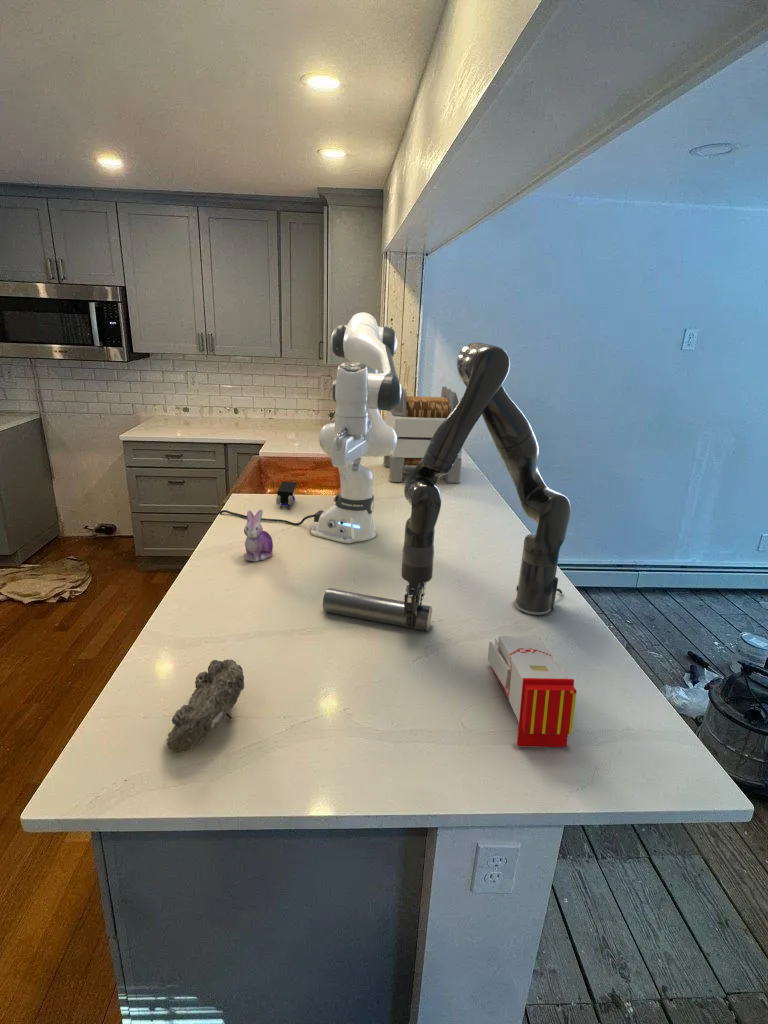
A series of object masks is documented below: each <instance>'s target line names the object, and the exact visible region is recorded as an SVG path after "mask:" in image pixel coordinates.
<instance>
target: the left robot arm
mask: <svg viewBox="0 0 768 1024" xmlns="http://www.w3.org/2000/svg"><path fill="white" fill-rule="evenodd" d="M330 347H331V349H332V353H333V354H334V355H335V356H336V357H338V358H342V359H345V358H347V360H348V361H346V362H342V363H340V364H339V365H338V366H337V371H336V377H335V379H334V380H333V381H332V400H333V401H334V402H335V405H336V406H335V411H334V422H330V423H325V424H324V425H323V426H322V427H321V429H320V431H319V434H318V442H319V446H320V448H321V450H322V451H323V452H324V453H325V454H327V455H328V456H329V457H330V459H331V465H332V467H333V468H337V470H338V473H339V483H340V484H339V485H340V488H339V489H340V490H339V491H338V492H337V494H336V495H335V496H334V497H333V502H334V504H333V505H331V506H329V507H328V508H326V509H325V510H322V509H321V510H318V511H317V512H315V513H314V514H310V515H306V516H305V517H303V518H302V519H301V520H300V521H299V522H292V521H289V520H285V519H278V518H277V519H276V518H264V517H262V518H261V521H264V522H279V523H286V524H289V525H293V526H300V525H302V524H303V523H304V522H305V520H307V519H311V518H313V522H314V523H315V524H314V525H313V526H312V528H311V530H310V533H311V536H315V537H319V538H323V539H326V540H330V541H336V542H339V543H343V544H352V543H357V542H365V541H368V540H372V539H373V538H375V537H376V535H377V532H376V528H375V523H374V513H373V512H374V509H375V496H374V474H373V472H372V471H371V469H369V468H368V467H366V466H365V465H363V464H362V463H361V461H362V459H363V457H364V458H384V456H389V455H391V454H392V453H393V452H394V450H395V449H396V446H397V435H396V433H395V431H394V429H393V428H392V427H391V426H389V425H388V424H387V423H386V420H384V419H383V417H382V415H381V414H380V411H386V412H387V411H391V410H392V409H394V408H395V407H396V406H398V405H399V403H400V400H401V394H402V390H401V387H402V385H401V382H400V378H399V377H398V374H397V369H396V366H395V363H394V359H393V357H394V356H395V353H396V351H397V349H398V337H397V335H396V331H395V330H394V328H391V327H388V326H379V324H378V321H377V320H376V317H375V316H374V315H372V314H370V313H368V312H357V313H355V314H353V316H351V317H350V319H349V321H348V323H347V324H340V325H337V326H335V328H333V329H332V333H331V336H330ZM223 513H227V514H230V515H234V516H237V517H241V518H245V519H247V515H245V514H241V513H238V512H233V511H231V510H226V509H222V510H220V511H219V512H218V515H221V514H223Z"/></svg>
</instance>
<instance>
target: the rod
mask: <svg viewBox="0 0 768 1024" xmlns="http://www.w3.org/2000/svg"><path fill="white" fill-rule="evenodd" d="M322 610H323V612H326V613H330V614H335V615H341V616H346V617H352V618H356V619H362V620H369V621H374V622H378V623H383V624H390V625H394V626H400V627H404V628H405V627H406V615H404V601H403V600H397V599H394V598H393V599H392V598H388V597H387V598H386V597H381V596H375V595H370V594H364V593H358V592H354V591H353V592H352V591H346V590H341V589H337V588H330V587H329V588H327V589H326V590H325V592H324V595H323V598H322ZM410 610H412V609H410ZM432 617H433V607H432V605H427V604H422V605H421V604H420V605H419V606H417V614H416V622H415V628H414V629H415V630H421V631H425V632H426V631H427V632H428V631H429V629H430V626H431V622H432ZM406 628H407V627H406Z"/></svg>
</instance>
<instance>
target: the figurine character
mask: <svg viewBox="0 0 768 1024" xmlns="http://www.w3.org/2000/svg"><path fill="white" fill-rule="evenodd" d="M297 484H298V482H296V481H295V482H294V481H284V480H283V481H281V483H280V485H279V487H278V489H277V494H276V498H275V499H276V500H275V503H276V505H279V508H280V509H283V506H285V507H287V509H290V508H291V506H292V505H293V503H294V502H295V501H296V497H295V496H296V492H295V489H296V488H297Z"/></svg>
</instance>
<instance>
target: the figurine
mask: <svg viewBox="0 0 768 1024" xmlns="http://www.w3.org/2000/svg"><path fill="white" fill-rule="evenodd" d="M263 513H264V512H263V509H261V508H260V509H259V510H258V511H257V512H256V513H255V514H254V513H253V511H252V510H247V513H246V516H247V518H246V521H247V522H246V524H245V526H244V529H243V532H244V535H245V536H246V538H245V540H244V549H245V551H246V554H245V560H246V561H250V562H259V561H264V560H267V559H269V558H270V557H272V556H273V548H274V543H273V538H272V536H271V534H270V533H269V532H267V531H265V530H263V526H262V524H261V522H262V520H261V518H263Z"/></svg>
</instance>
